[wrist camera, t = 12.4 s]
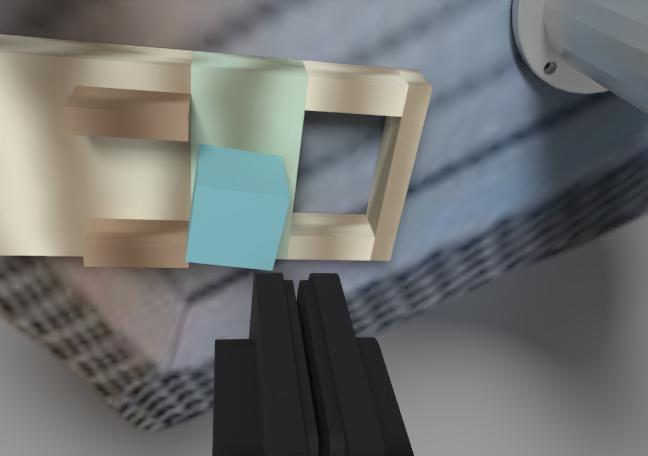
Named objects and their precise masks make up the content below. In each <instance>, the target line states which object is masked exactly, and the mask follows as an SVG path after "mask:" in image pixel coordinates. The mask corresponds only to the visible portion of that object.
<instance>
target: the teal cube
mask: <svg viewBox="0 0 648 456" xmlns="http://www.w3.org/2000/svg"><path fill="white" fill-rule="evenodd" d="M290 199H291V198H290V193H289V188H288V183H287V178H286V173H285V167H284V162H283V157H281V156H275V155H269V154H262V153H256V152H250V151H244V150H237V149H231V148H225V147H218V146H212V145H206V144H200V145H199V152H198V159H197V166H196V173H195V180H194V187H193V194H192V202H191V209H190V217H189V227H188V238H187V249H186V260H185V262H192V263H202V264H212V265H221V266H231V267H241V268H250V269H260V270H270V271H272V270H273V266H274V262H275V258H276V255H277V251H278V247H279V243H280V239H281V235H282V231H283V227H284V223H285V219H286V215H287V211H288V207H289V203H290Z"/></svg>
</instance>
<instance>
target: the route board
mask: <svg viewBox="0 0 648 456" xmlns="http://www.w3.org/2000/svg"><path fill="white" fill-rule="evenodd" d="M432 89H433V86H432V85H431V84H430V83H429V82H428V81H427V80H426V79H425V78H424V76H423V75H422V74H421V73H420V72H419V71H418V70H407V69H395V68H384V67H372V66H361V65H349V64H338V63H326V62H315V61H303V60H292V59H280V58H269V57H257V56H246V55H234V54H223V53H211V52H200V51H188V50H177V49H165V48H154V47H142V46H131V45H119V44H108V43H96V42H85V41H73V40H62V39H50V38H39V37H27V36H16V35H4V34H0V255H17V256H83V259H84V267H140V268H189V262H185V260H186V249H187V238H188V227H189V217H190V209H191V202H192V194H193V187H194V180H195V173H196V166H197V159H198V152H199V145H200V144H206V145H212V146H218V147H225V148H231V149H237V150H244V151H250V152H256V153H262V154H269V155H275V156H281V157H283V162H284V167H285V173H286V178H287V183H288V188H289V193H290V198H291V199H290V203H289V207H288V211H287V215H286V219H285V223H284V227H283V231H282V235H281V239H280V243H279V247H278V251H277V255H276V258H275V259H297V260H367V261H390V258H391V254H392V250H393V246H394V242H395V238H396V234H397V230H398V226H399V222H400V218H401V214H402V210H403V206H404V202H405V198H406V194H407V190H408V186H409V181H410V177H411V173H412V169H413V165H414V161H415V157H416V153H417V149H418V145H419V141H420V137H421V133H422V129H423V125H424V121H425V117H426V113H427V109H428V105H429V101H430V97H431V93H432ZM305 110H310V111H324V112H339V113H353V114H368V115H382V116H386V119H385V124H384V129H383V134H382V139H381V143H380V148H379V153H378V158H377V163H376V168H375V173H374V177H373V182H372V187H371V192H370V197H369V202H368V207H367V212H366V215H363V214H331V213H299V212H293V204H294V196H295V187H296V179H297V171H298V162H299V154H300V145H301V137H302V128H303V120H304V111H305Z"/></svg>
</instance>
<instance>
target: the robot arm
mask: <svg viewBox="0 0 648 456" xmlns="http://www.w3.org/2000/svg"><path fill="white" fill-rule="evenodd" d="M512 26H513V32H514V37H515V42H516V45H517V47H518V50H519V52H520V54H521V57H522V59H523V60H524V61H525V63H526V64H527V65H528V67H529V68H530V69H531V71H532V72H533V73H535V74H536V75H537V76H538V77H540V78H541V79H542V80H543V81H545V82H547V83H548V84H550V85H551V86H553V87H555V88H557V89H560V90H563V91H566V92H569V93H578V94H592V93H601V92H606V91H611V92H612V93H614V94H616V95H617V96H619V97H620V98H622V99H624V100H625V101H627V102H629V103H630V104H632V105H633V106H635V107H637V108H638V109H640V110H641V111H643V112H645V113H646V114H648V0H513V5H512ZM212 456H414V454H413V451H412V448H411V445H410V441H409V438H408V435H407V432H406V429H405V425H404V422H403V419H402V416H401V413H400V410H399V407H398V403H397V401H396V397H395V394H394V391H393V387H392V384H391V381H390V378H389V375H388V372H387V369H386V366H385V362H384V359H383V356H382V353H381V349H380V346H379V344H378V342H377V340H376V339H375V338H374V337H363V338H356V337H355V333H354V329H353V326H352V322H351V318H350V315H349V311H348V307H347V304H346V300H345V296H344V293H343V289H342V285H341V282H340V278H339V275H338V274H337V273H311V274H310V275H309V279H308V280H300V282H299V287H298V294H297V301H296V297H295V290H294V284H293V281H292V280H283V274H282V273H255V274H254V282H253V295H252V307H251V320H250V333H249V339H225V340H215V358H214V394H213V447H212Z"/></svg>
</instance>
